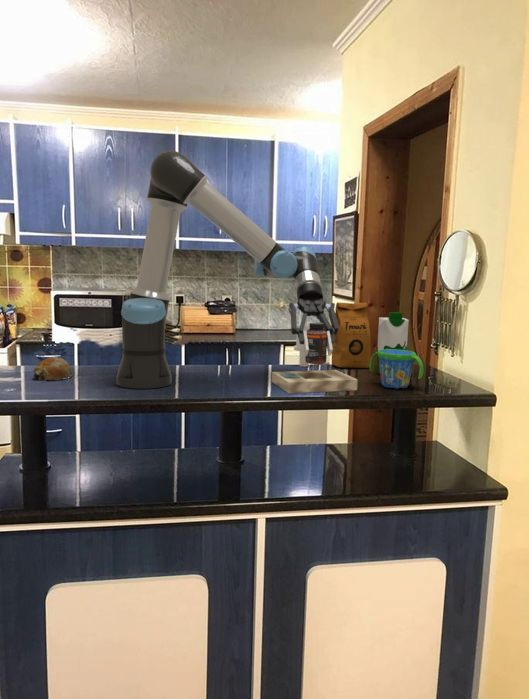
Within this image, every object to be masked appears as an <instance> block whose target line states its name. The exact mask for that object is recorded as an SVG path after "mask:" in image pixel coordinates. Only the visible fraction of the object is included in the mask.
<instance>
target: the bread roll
mask: <svg viewBox="0 0 529 699" xmlns="http://www.w3.org/2000/svg"><path fill="white" fill-rule="evenodd" d="M71 370H72V369H71V367H70V364H69V362H68V361H66V359H63V358H61V357H59V356H58V357H57V356H51V357H47V358H45V359H43V360H41V361H40V362H39V363H38V364H37V365H36V367H35V368H33V372H34V374H33V377H34V379H36V378H37V379H41V380H57V379H63V378H68V377H70V376H72V372H71ZM37 379H36V380H37ZM41 380H40V381H41ZM57 381H58V380H57Z"/></svg>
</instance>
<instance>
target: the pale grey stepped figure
mask: <svg viewBox="0 0 529 699" xmlns="http://www.w3.org/2000/svg"><path fill="white" fill-rule="evenodd" d="M306 322H307V323H305V326H304V330H303V331H306V332H307V331H308V330H309V329H310V327H309V326H310V323H314V322H315V321H306ZM300 324H301V323H300ZM300 324H298V323H297V328H300ZM295 341H296V342H295V343H296V344H295V345H294V346H293V350H294V351H299V363H298V364H299V367H305V368H306V367H309V363H306V361H305V354H304V346H303V344H300V343H299V337H298V335H297V334H296V340H295Z"/></svg>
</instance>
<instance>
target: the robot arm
mask: <svg viewBox="0 0 529 699" xmlns="http://www.w3.org/2000/svg"><path fill="white" fill-rule="evenodd" d="M146 200H147V202H148V203H149V205H150V212H149V217H148V223H147V229H146V234H145V240H144V244H143V251H142V257H141V261H140V266H139V272H138V279H137V284H136V287H135V288H133V289H132V290H131V291H130V294H129V299H126V300H124V301H123V303H122V306H121V311H120V314H121V326H122V327H121V329H122V330H121V331H122V332H121V333H122V334H121V338H122V345H121V346H122V357H121V360H120V364H119V366H118V370H117V374H116V377H115V378H116V381H115V382H116V384H115V385H117V386H119V387H121V388H126V389H127V388H128V389H138V390H139V389H141V390H142V389H146V390H147V389H157V388H158V389H159V388H162V387H163V388H164V387H167V386H170V385H171V384H172V380H173V379H172V372H171V370H170V366H169V364H168V360H167V357H166V325H167V324H166V323H167V316H168V309H169V305H170V300H171V299H170V297H169V296H168V295H167V293H166V292H167V288H168V283H169V282H168V281H169V277H170V276H169V275H170V271H171V270H170V269H171V267H172V266H171V265H172V260H173V254H174V249H175V244H176V238H177V233H178V229H179V222H180V218H181V213H182V212H184V210H185V211H186V209H187V208H188V205H191V207H192V208H194V209H195V210H196V211H198V213H200V214H201V215H202V216H203V217H205V219H207V220H209V222H211V224H213V225H214V226H215V227H216V228H217V229H218V230H220V231H221V232H223V234H225V235H226V236H227V237H228V238H229V239H230V240H232V241H233V242H234V243H236V245H238V246H239V247H240V248H241V249H242V250H244V251H245V252H246V253H247V254H249V256H251V257H252V258H253V259H254V265H253V269H254V274H255V275H256V276H260V277H267V278H268V277H271V278H277V279H294V282H295V289H296V297H297V302H296V303H294V302H290V303H289V304H288V309H287V310H288V312H289V314H290V326H291V330H290V332H291V334H292V335H296V336H297V335H298V337H299V343H300V344H303V346H304V354H305V356H307V355H308V351H309V347H308V340H307V333H306V331H303V330H304V326H305V324H306V322H307V318H308V317H312V316H313V317H316V318H317V320H318V321H319V323H324V328H323V329H324V331H326V332H327V356H332V350H333V348H332V344H333V343H334V335H333V334H335V335H336V334H337V333H338V330H339V326H338V322H337V318H336V314H335V308H336V304H335V302H331V303H327V302H326V301H325V299H324V296H323V295H324V294H323V289H322V282H321V278H320V272H319V266H318V265H319V264H318V259H317V256H316V253H315V251H314V250H313V249H312V248H311V247H309V246H301V247H297V248H295V249H294V250H293V251H292V252H290V251H289V250H286V249H285V248H283V247H282V246H281V245H280V244H279V243H277V241H276V240H274V238H272V237H271V236H270V235H268V233H266V232H265V231H264V230H263V229H262V228H261V227H260V226H258V225H257V223H255V222H254V221H252V220H251V218H249V217H248V216H247V215H246V214H244V213H243V212H242V211H241V210H240V209H239V208H237V207H236V206H235V205H234V204H233V203H232V202H231V201H230V200H229V199H227V198H226V197H225V196H224V195H223V194H221V193H220V192H219V190H217V189H216V188H215V187H213V186H212V185H211V183H209V182H208V178H207V176H206V174H204V173H203V172H202V171H201V170H200V169H199V168H198V167H197V166H196V165H195V164H194V163H193V162H192V161H191V160H190V159H189V158H188V157H187V156H186V155H184V154H183V153H181V152H179V151H175V150H164V151H162V152H161V153H159V154H158V155H157V156H155V157H154V159H153V160H152V162H151V165H150V180H149V187H148V191H147V196H146ZM325 309H326V312H327V313H328V318H329V319H328V318H327V316H326V314H325ZM298 310H299V311H300V312H302V317H301V321H300V328H297V324H298V323H297V322H298V321H297V311H298Z"/></svg>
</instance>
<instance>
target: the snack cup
mask: <svg viewBox="0 0 529 699" xmlns="http://www.w3.org/2000/svg"><path fill="white" fill-rule="evenodd" d="M377 354H378V357H379V362H380V374H381V375H380V374H379V375H380V383H381V385H382V386H383V387H384V388H390V389H396V390H398V389H399V388H403V389H407V388H408V386H409V384H410V380H411V375H412V370H413V365H414V364H415V361H416V362H417V364H418V366H419V371H418V376H417V379H418V380H421V379H422V377H423V375H424V364H423V361H422V359H421V358H420V357H419V356H418V355H417V354H416V352H414V351H411V350H408V349H407V350H398V349H382V350H379V351H378V352H377V351H376V352H375V353H373V354H372V355H371V356H370V364H369V367H368V368H369V371H370V372H371V373H373V372H375V363H374V362H375V359H376V357H377Z"/></svg>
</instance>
